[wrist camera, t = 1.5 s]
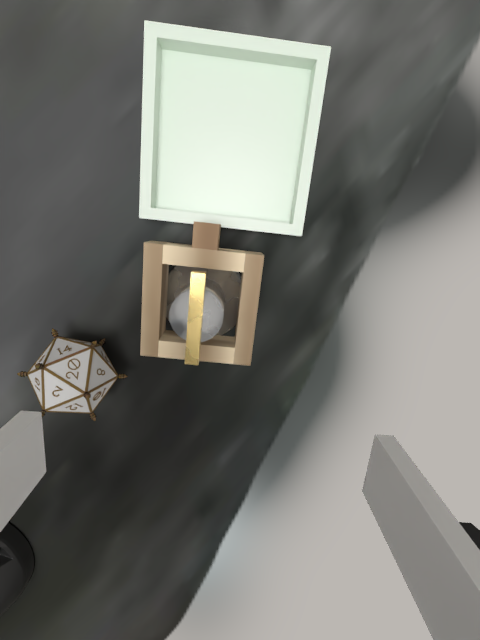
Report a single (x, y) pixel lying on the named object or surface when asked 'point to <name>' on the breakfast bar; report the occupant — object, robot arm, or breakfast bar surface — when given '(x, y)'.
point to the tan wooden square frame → (202, 256)
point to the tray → (229, 127)
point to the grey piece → (201, 305)
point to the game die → (72, 376)
